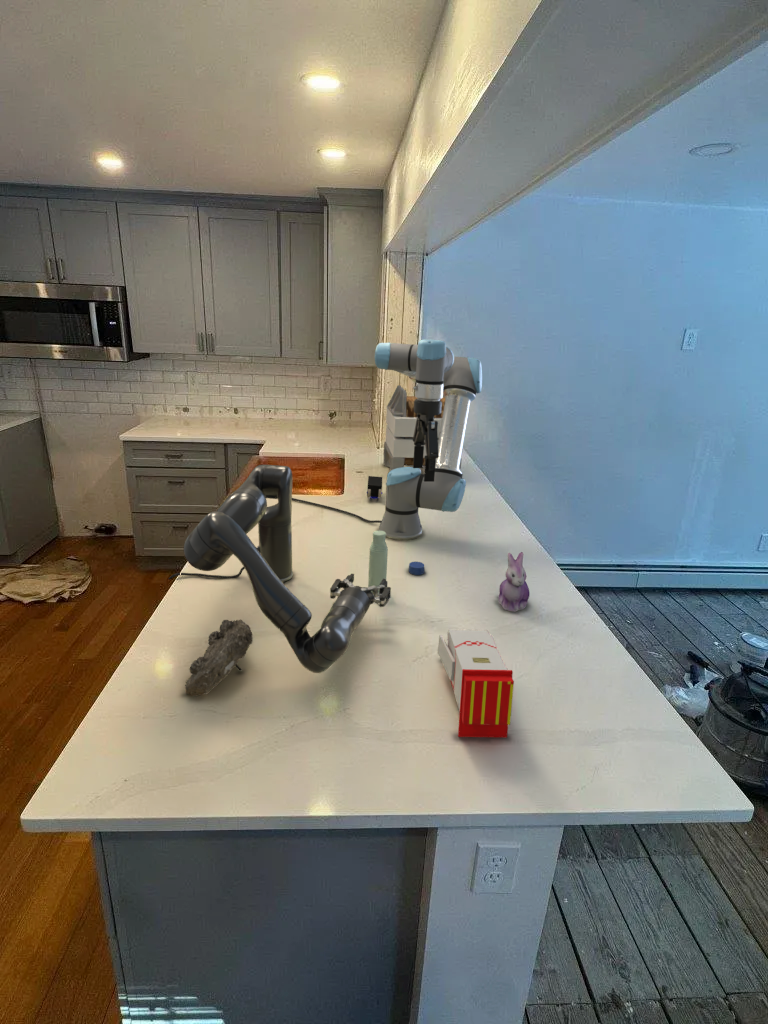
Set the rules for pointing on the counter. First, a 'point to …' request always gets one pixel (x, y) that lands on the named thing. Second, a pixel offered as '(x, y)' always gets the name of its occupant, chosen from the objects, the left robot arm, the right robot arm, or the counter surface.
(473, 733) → the toy
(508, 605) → the figurine
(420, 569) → the cap
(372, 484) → the figurine character
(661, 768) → the counter surface
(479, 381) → the right robot arm
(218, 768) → the counter surface
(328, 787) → the counter surface
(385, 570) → the bottle
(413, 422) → the white crate
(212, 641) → the fossil
